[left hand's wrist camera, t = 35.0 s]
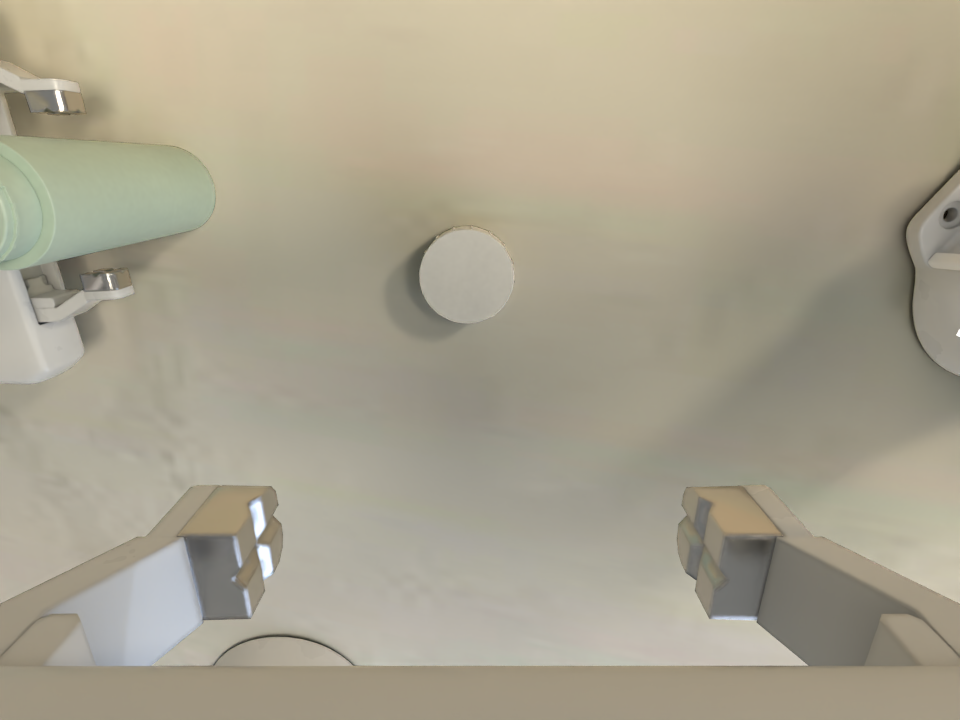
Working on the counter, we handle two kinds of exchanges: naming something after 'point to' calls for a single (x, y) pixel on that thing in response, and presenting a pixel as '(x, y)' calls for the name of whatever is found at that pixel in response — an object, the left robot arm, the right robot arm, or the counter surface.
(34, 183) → the jar
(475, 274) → the lid
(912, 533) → the counter surface
